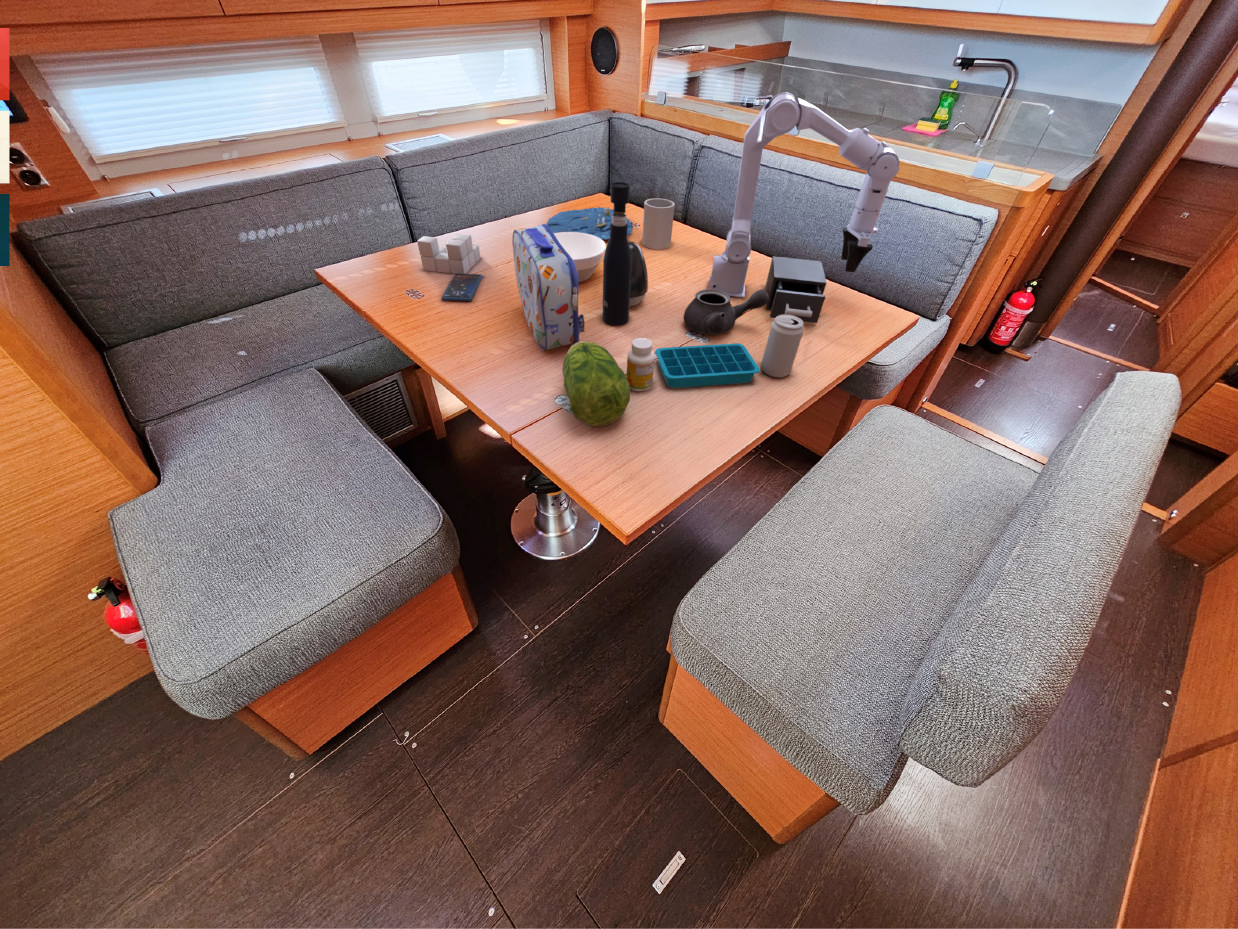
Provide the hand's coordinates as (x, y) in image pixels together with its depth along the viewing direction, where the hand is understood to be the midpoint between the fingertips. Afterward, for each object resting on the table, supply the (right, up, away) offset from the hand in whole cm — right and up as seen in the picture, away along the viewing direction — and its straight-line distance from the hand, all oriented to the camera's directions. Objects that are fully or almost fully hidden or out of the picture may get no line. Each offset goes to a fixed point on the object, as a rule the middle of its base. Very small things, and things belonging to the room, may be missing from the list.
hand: (847, 265), depth 129 cm
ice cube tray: (-40, -31, -19) cm, 54 cm away
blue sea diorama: (-67, +28, +41) cm, 84 cm away
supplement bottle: (-54, -34, -24) cm, 68 cm away
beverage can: (-24, -30, -18) cm, 43 cm away
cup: (-46, +19, +33) cm, 60 cm away
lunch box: (-74, -19, -9) cm, 77 cm away
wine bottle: (-59, -15, -4) cm, 61 cm away
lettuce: (-63, -38, -28) cm, 79 cm away
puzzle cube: (-105, +6, +16) cm, 106 cm away
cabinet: (-12, -7, +7) cm, 16 cm away
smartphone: (-99, -4, +5) cm, 99 cm away
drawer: (-14, -12, 0) cm, 18 cm away
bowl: (-71, +2, +14) cm, 73 cm away
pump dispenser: (-56, -8, +3) cm, 57 cm away
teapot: (-33, -18, -5) cm, 38 cm away
